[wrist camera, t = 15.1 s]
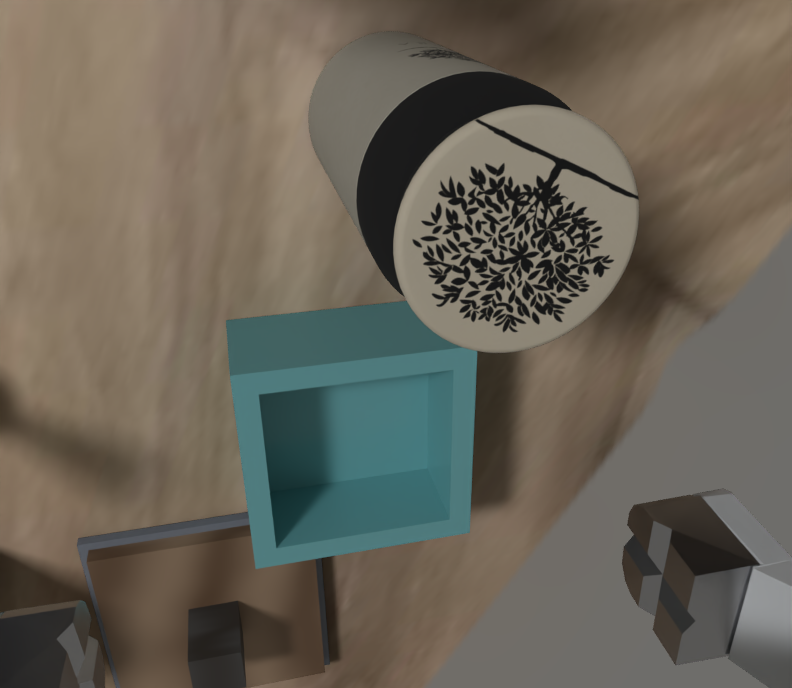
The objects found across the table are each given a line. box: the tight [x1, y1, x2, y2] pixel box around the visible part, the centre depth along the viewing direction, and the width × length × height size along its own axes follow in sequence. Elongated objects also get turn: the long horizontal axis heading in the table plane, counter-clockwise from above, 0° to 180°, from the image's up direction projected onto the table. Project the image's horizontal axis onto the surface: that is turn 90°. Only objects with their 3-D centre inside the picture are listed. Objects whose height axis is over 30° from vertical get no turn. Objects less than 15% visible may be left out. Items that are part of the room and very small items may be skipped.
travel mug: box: [308, 31, 639, 353], centre depth 30 cm, size 8×8×18 cm
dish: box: [226, 301, 477, 569], centre depth 42 cm, size 12×12×6 cm
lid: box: [86, 525, 325, 688], centre depth 46 cm, size 13×13×5 cm
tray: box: [77, 512, 330, 688], centre depth 49 cm, size 14×14×1 cm
